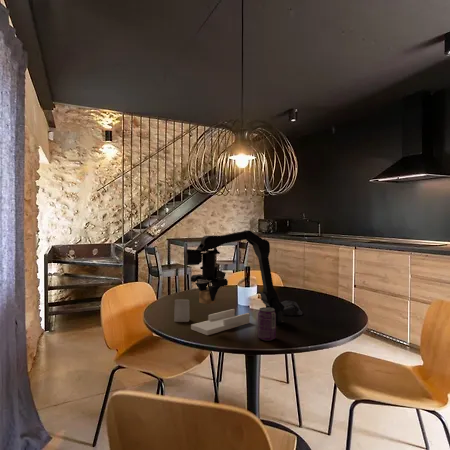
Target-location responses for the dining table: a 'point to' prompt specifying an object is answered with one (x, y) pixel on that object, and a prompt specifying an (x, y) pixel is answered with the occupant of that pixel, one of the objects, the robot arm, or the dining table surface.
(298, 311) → the dark slate chunk
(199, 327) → the trap channel
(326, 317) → the dining table surface
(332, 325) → the dining table surface
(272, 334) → the beverage can
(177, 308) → the grey box
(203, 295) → the oak block
